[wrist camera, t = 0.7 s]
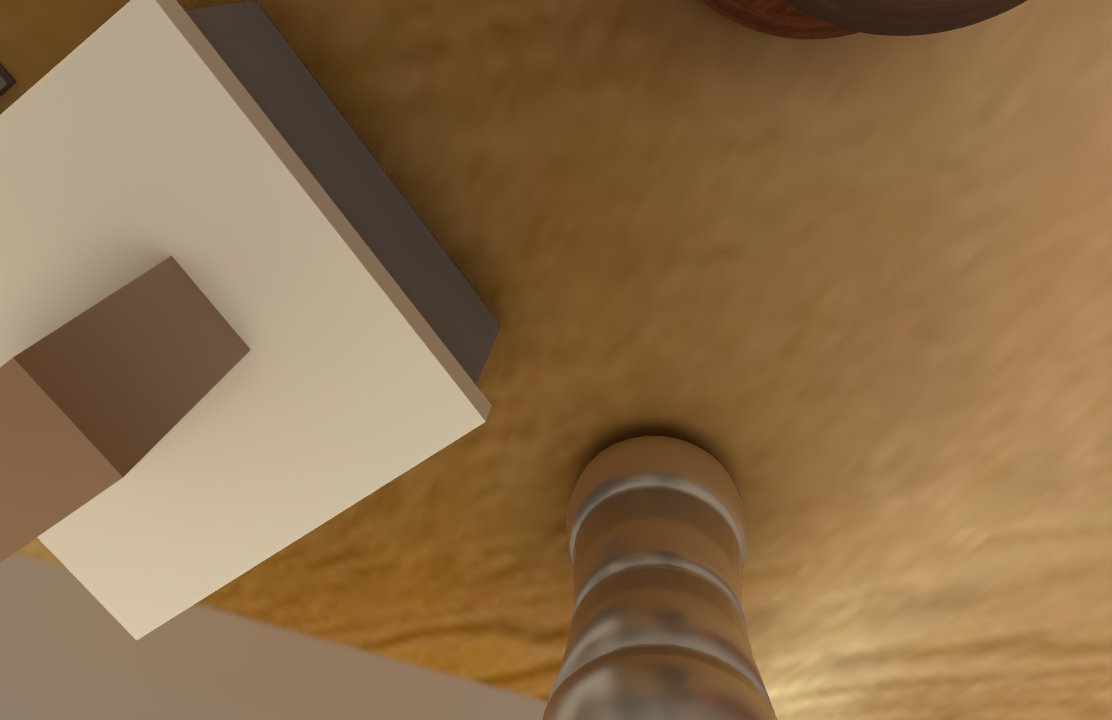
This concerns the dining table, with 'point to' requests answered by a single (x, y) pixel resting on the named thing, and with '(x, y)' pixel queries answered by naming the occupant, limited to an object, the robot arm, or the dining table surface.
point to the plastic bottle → (657, 591)
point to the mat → (5, 80)
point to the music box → (858, 16)
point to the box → (350, 177)
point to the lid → (190, 329)
